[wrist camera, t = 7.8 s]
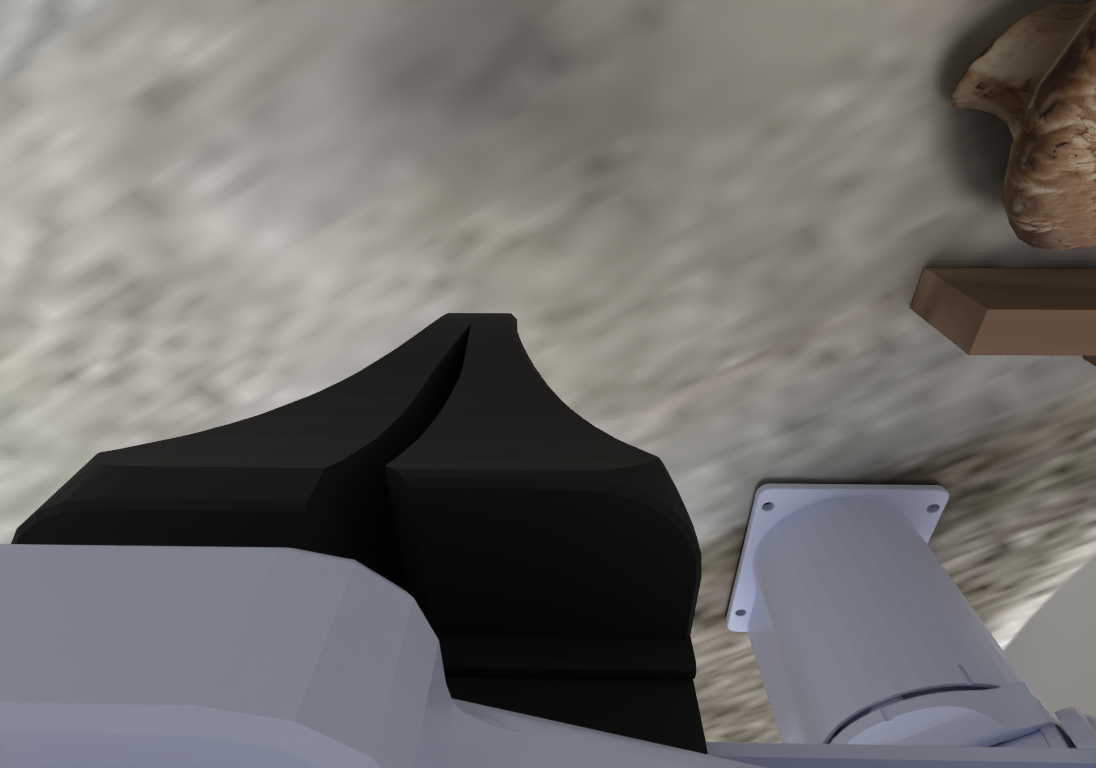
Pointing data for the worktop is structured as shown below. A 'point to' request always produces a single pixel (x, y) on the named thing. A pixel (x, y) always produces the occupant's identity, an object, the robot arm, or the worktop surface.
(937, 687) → the robot arm
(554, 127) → the worktop surface
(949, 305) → the wooden crate
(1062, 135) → the mushroom
